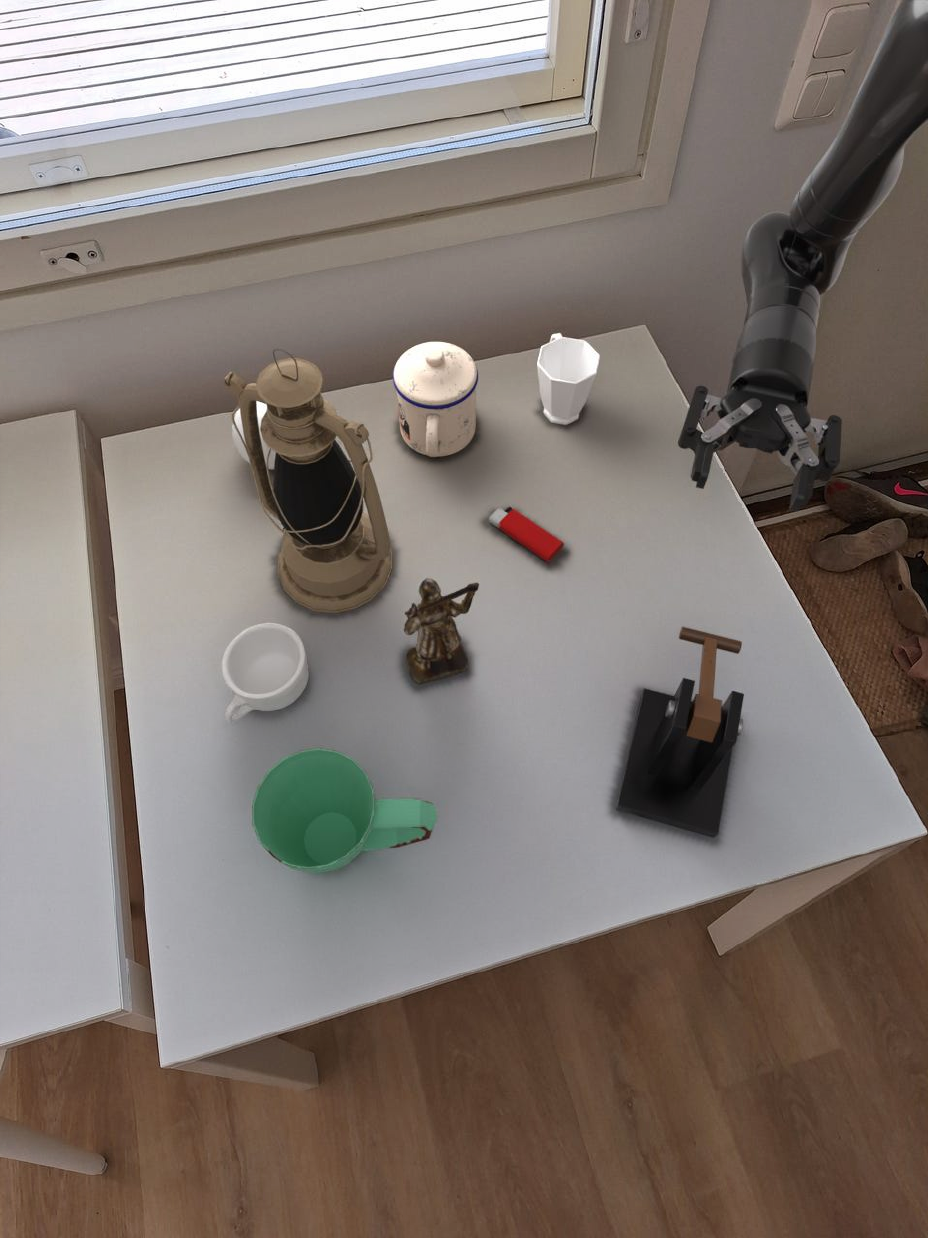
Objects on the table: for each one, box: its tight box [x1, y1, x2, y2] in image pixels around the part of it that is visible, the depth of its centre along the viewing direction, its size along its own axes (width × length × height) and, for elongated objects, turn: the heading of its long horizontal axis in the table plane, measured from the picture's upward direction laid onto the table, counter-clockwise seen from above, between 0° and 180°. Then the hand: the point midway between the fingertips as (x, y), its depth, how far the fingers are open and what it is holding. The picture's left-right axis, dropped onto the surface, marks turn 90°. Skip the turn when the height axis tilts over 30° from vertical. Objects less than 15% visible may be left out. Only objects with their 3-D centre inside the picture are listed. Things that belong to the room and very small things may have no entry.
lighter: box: [488, 506, 565, 563], centre depth 94 cm, size 3×1×8 cm
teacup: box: [221, 622, 310, 724], centre depth 83 cm, size 10×8×5 cm
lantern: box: [222, 348, 393, 614], centre depth 80 cm, size 14×12×30 cm
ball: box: [231, 401, 276, 471], centre depth 96 cm, size 8×8×8 cm
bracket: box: [615, 677, 745, 839], centre depth 76 cm, size 12×9×13 cm
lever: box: [678, 626, 743, 743], centre depth 76 cm, size 13×6×2 cm, turn 163°
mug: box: [251, 747, 438, 874], centre depth 74 cm, size 15×10×10 cm
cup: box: [536, 332, 601, 426], centre depth 100 cm, size 7×10×8 cm
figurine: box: [403, 577, 480, 685], centre depth 81 cm, size 7×4×15 cm, turn 107°
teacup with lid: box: [392, 341, 479, 458], centre depth 96 cm, size 12×9×12 cm
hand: (749, 494), depth 79 cm, fingers open, 8 cm apart
